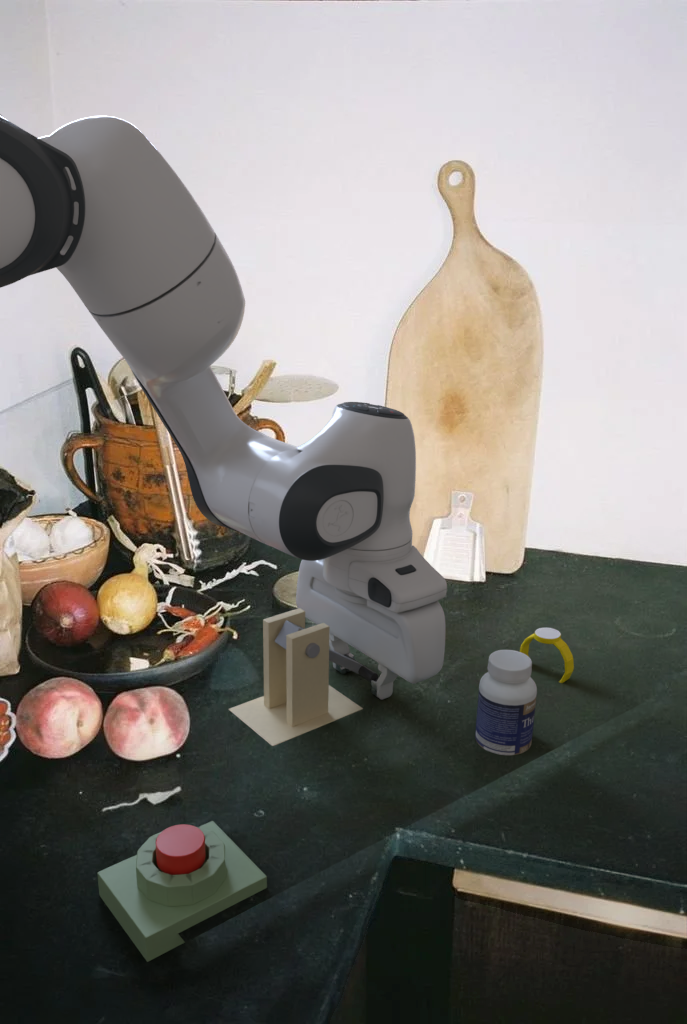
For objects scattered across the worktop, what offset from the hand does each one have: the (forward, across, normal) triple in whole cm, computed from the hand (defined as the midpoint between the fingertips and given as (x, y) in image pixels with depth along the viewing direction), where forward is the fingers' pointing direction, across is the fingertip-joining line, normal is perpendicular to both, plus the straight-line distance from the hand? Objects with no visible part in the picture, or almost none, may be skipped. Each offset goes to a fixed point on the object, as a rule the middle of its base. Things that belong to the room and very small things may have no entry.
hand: (362, 682), depth 99 cm
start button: (-2, +15, -30) cm, 33 cm away
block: (+2, +15, -30) cm, 33 cm away
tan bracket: (+1, 0, -8) cm, 9 cm away
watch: (+1, +10, +18) cm, 20 cm away
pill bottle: (+1, +16, +4) cm, 17 cm away
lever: (-4, 0, -6) cm, 7 cm away
